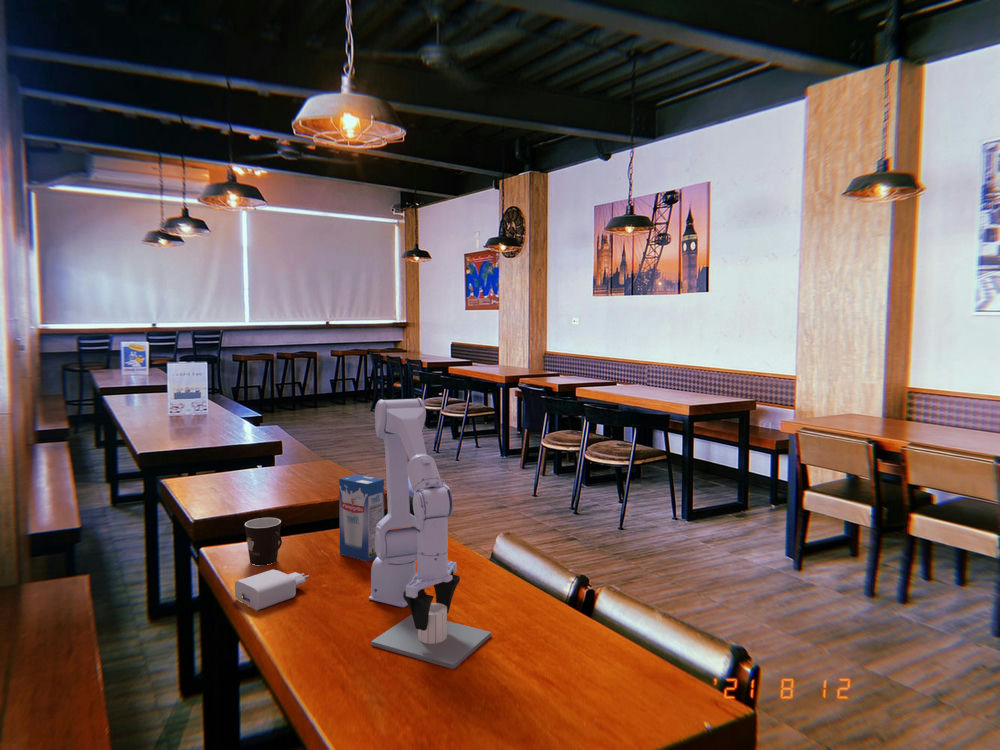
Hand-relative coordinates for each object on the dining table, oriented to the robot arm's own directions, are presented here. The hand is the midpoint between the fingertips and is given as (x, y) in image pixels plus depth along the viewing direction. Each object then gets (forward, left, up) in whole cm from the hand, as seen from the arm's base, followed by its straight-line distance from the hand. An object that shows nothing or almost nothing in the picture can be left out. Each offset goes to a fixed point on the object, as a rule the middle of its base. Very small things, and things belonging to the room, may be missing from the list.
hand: (432, 620), depth 125 cm
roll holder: (0, 0, -4) cm, 4 cm away
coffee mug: (-59, +14, -4) cm, 61 cm away
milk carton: (-42, +31, -4) cm, 52 cm away
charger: (-42, +2, -4) cm, 42 cm away
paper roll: (0, 0, -3) cm, 3 cm away
